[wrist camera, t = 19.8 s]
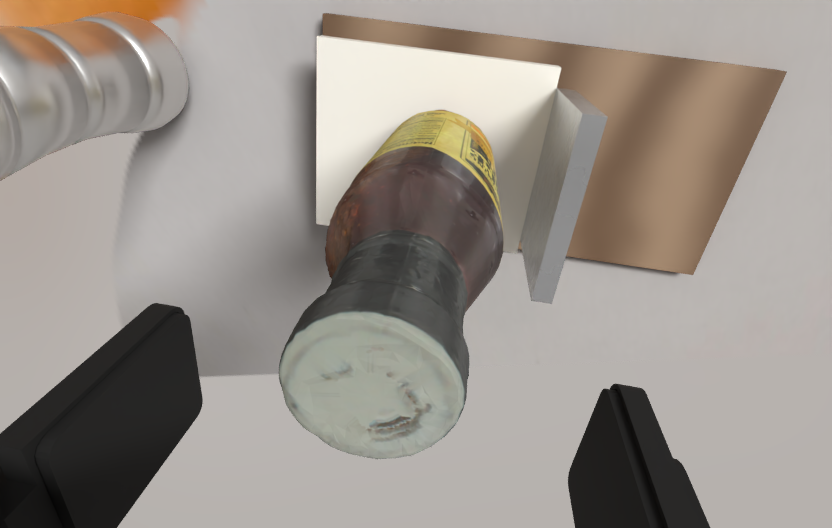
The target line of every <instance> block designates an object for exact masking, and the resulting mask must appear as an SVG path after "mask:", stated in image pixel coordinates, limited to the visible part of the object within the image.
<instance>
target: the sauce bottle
mask: <svg viewBox="0 0 832 528" xmlns="http://www.w3.org/2000/svg"><path fill="white" fill-rule="evenodd" d="M326 241H327V243H326V248H325V251H326V264H327V266H328V271H329V275H330V277H331V278H332V282H331V285H330V286H329V288H328V289H327V291H326V293H325V294H324V295H322V296H320V297H319V298H317V299H316V300H315V301H314V302H313V303H312V304H311V305H310V306H309V307H308V308H307V309H306V310H305V311H304V313H303V314H302V316H301V318H300V320H299V321H298V323H297V325H296V326H295V328H294V330H293V332H292V334H291V335H290V337H289V339H288V341H287V343H286V345H285V348H284V350H283V353H282V356H281V360H280V364H279V379H280V384H281V387H282V390H283V394H284V398H285V402H286V405H287V406H288V408H289V410H290V411H291V413H292V414H293V416H294V417H295V418H296V420H297V421H298V422H299V423H300V424H301V425H302V426H303V427H304V428H305V429H306V430H308V431H309V432H311V433H313V434H314V435H316V436H318V437H319V438H320V439H321V440H322V441H324V442H325V443H327V444H328V445H330V446H331V447H333V448H336V449H338V450H340V451H343V452H346V453H349V454H353V455H358V456H363V457H368V458H375V459H386V458H399V457H404V456H411V455H414V454H416V453H418V452H420V451H422V450H424V449H426V448H428V447H431V446H432V445H434V444H435V443H436V442H438V441H439V440H440V439H442V438H443V437H445V436H446V434H447V433H448V432H449V431H450V430H451V429H452V428H453V427H454V426H455V424H456V423H457V421H458V419H459V417H460V415H461V413H462V410H463V408H464V405H465V401H466V393H467V379H468V376H469V353H468V348H467V345H466V342H465V339H464V336H463V318H464V315H465V312H466V311H467V310H468V308H469V307H470V306H471V305H472V303H473V302H474V301H475V299H476V298H477V297H478V296H479V294H480V293H481V292H482V291H483V289H484V288H485V287H486V285H487V284H488V283H489V282H490V281H491V279H492V278H493V276H494V275H495V273H496V271H497V269H498V267H499V264H500V261H501V258H502V254H503V245H504V238H503V226H502V218H501V210H500V201H499V193H498V185H497V178H496V171H495V162H494V156H493V152H492V148H491V146H490V143H489V141H488V140H487V138H486V136H485V135H484V134H483V132H482V131H481V129H480V128H479V127H477V126H476V125H475V124H474V123H473V122H472V121H470V120H469V119H467V118H465V117H464V116H462V115H459V114H456V113H453V112H450V111H446V110H435V111H426V112H421V113H417V114H416V115H414V116H412V117H410V118H409V119H407V120H406V121H404V122H403V123H402V124H401V125H400V126H399V127H397V129H396V130H395V131H394V132H393V133H392V134H391V136H390V137H389V138H388V139H387V140H386V141H385V143H384V144H383V145H382V146H381V147H380V148H379V150H378V151H377V152H376V153H375V154H374V156H373V157H372V158H371V159H370V160H369V161H368V162H367V164H366V165H365V166H364V167H363V168H362V169H361V170H360V172H359V173H358V174H357V175H356V177H355V178H354V180H353V181H352V183H351V185H350V187H349V188H348V189H347V191H346V192H345V194H344V195H343V197H342V198H341V200H340V201H339V202H338V205H337V206H336V208H335V210H334V213H333V216H332V218H331V220H330V224H329V228H328V231H327V240H326Z"/></svg>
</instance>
